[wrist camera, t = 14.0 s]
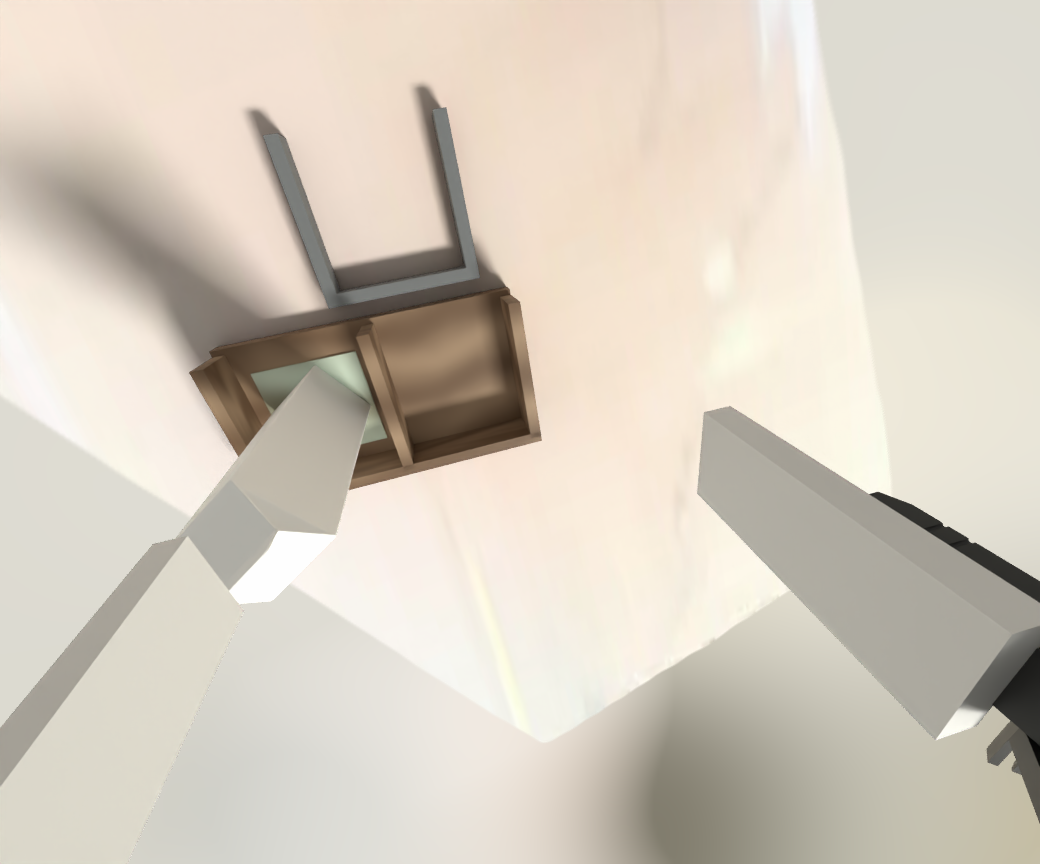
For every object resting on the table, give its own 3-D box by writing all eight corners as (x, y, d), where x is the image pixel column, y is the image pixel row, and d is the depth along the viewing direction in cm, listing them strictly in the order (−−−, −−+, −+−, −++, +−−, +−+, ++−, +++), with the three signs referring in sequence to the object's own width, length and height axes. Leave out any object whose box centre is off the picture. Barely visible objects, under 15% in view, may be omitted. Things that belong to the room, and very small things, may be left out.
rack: (217, 347, 35) (185, 366, 31) (506, 286, 38) (518, 295, 34) (286, 477, 42) (269, 510, 37) (528, 417, 45) (541, 440, 40)
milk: (371, 404, 39) (330, 579, 20) (331, 447, 40) (255, 653, 21) (313, 362, 36) (200, 519, 17) (272, 410, 37) (121, 609, 18)
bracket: (271, 140, 30) (262, 135, 28) (444, 113, 32) (446, 107, 30) (333, 304, 36) (328, 308, 34) (477, 275, 37) (480, 277, 36)
